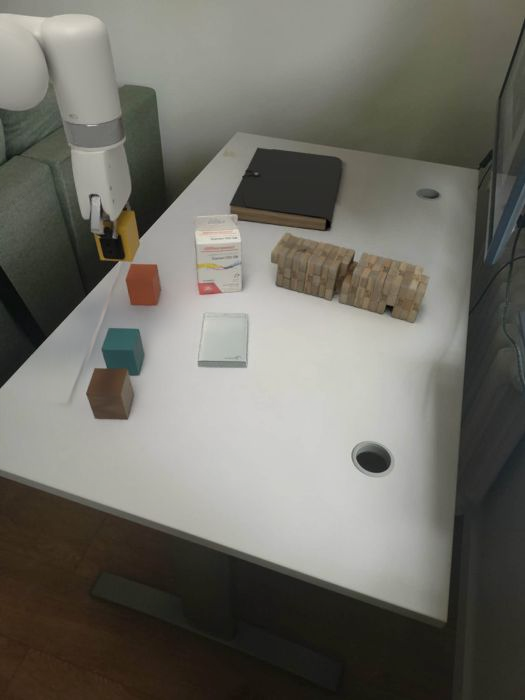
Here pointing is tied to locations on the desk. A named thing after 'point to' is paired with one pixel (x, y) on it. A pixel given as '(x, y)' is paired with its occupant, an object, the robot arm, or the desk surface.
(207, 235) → the ink cartridge box
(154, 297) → the terracotta block
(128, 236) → the yellow block
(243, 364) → the hard drive
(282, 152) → the black book
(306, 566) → the desk surface
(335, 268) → the block tower
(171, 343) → the desk surface
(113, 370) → the walnut block
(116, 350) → the teal block
